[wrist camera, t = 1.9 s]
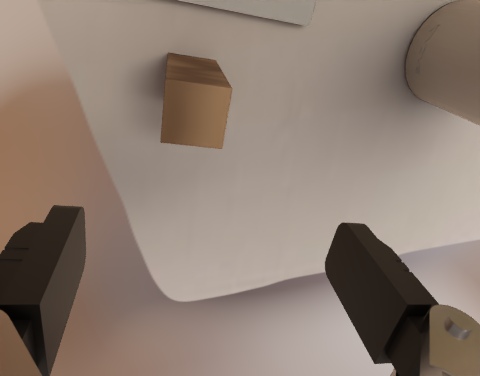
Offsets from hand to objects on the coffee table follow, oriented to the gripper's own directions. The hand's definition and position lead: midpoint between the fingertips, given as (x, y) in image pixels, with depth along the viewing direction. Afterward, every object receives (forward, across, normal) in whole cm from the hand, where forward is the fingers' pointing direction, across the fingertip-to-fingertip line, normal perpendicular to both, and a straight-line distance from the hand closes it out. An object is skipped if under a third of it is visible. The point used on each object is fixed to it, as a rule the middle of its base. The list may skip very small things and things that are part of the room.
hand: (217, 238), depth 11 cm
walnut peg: (+22, 0, 0) cm, 22 cm away
